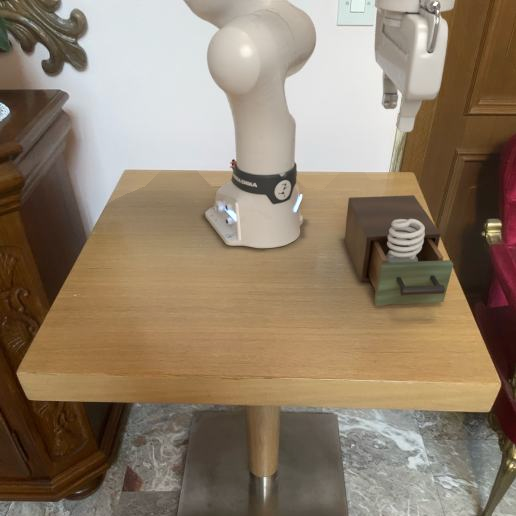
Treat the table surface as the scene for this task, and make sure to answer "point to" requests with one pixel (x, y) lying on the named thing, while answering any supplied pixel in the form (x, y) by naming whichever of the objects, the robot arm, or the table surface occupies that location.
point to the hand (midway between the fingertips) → (395, 118)
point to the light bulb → (415, 242)
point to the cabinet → (380, 225)
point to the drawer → (408, 275)
